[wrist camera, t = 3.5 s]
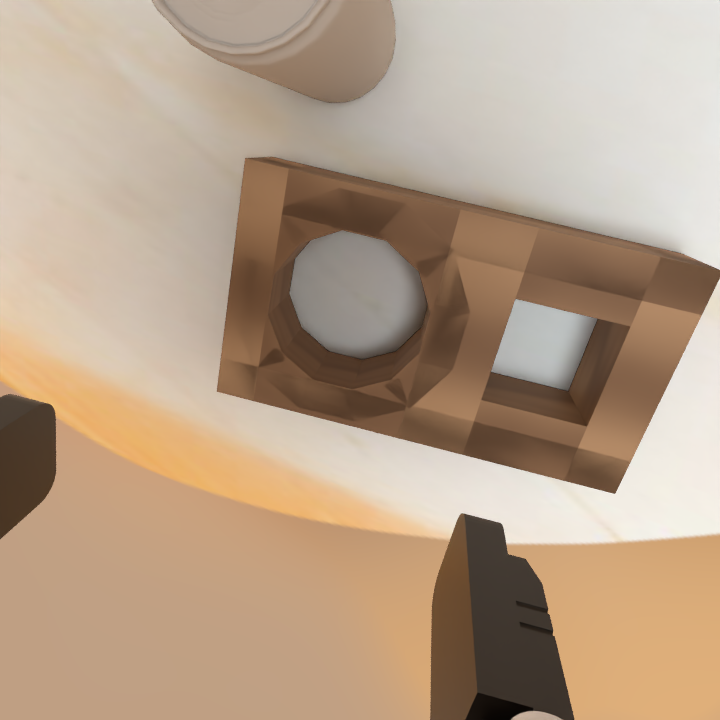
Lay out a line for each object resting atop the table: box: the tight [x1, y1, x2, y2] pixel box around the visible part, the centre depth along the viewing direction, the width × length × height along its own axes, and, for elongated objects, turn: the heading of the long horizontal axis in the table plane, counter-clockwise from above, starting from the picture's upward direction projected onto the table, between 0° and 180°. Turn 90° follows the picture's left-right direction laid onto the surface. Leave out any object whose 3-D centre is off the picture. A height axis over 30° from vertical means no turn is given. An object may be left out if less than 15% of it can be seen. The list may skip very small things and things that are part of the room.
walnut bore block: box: [217, 157, 720, 494], centre depth 23 cm, size 10×18×4 cm, turn 78°
